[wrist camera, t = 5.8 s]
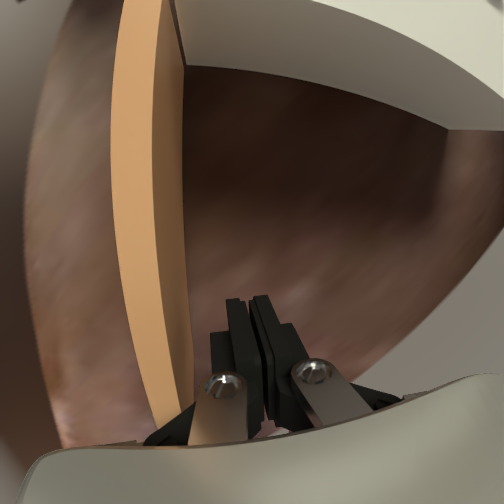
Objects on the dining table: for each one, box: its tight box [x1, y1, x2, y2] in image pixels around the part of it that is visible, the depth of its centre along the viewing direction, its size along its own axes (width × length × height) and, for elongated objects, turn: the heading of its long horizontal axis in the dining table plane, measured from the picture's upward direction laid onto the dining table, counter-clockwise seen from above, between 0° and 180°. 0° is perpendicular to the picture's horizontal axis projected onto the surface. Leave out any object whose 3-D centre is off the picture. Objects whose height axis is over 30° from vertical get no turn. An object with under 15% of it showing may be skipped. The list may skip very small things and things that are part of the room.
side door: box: [111, 0, 194, 430], centre depth 10 cm, size 15×1×8 cm, turn 179°
